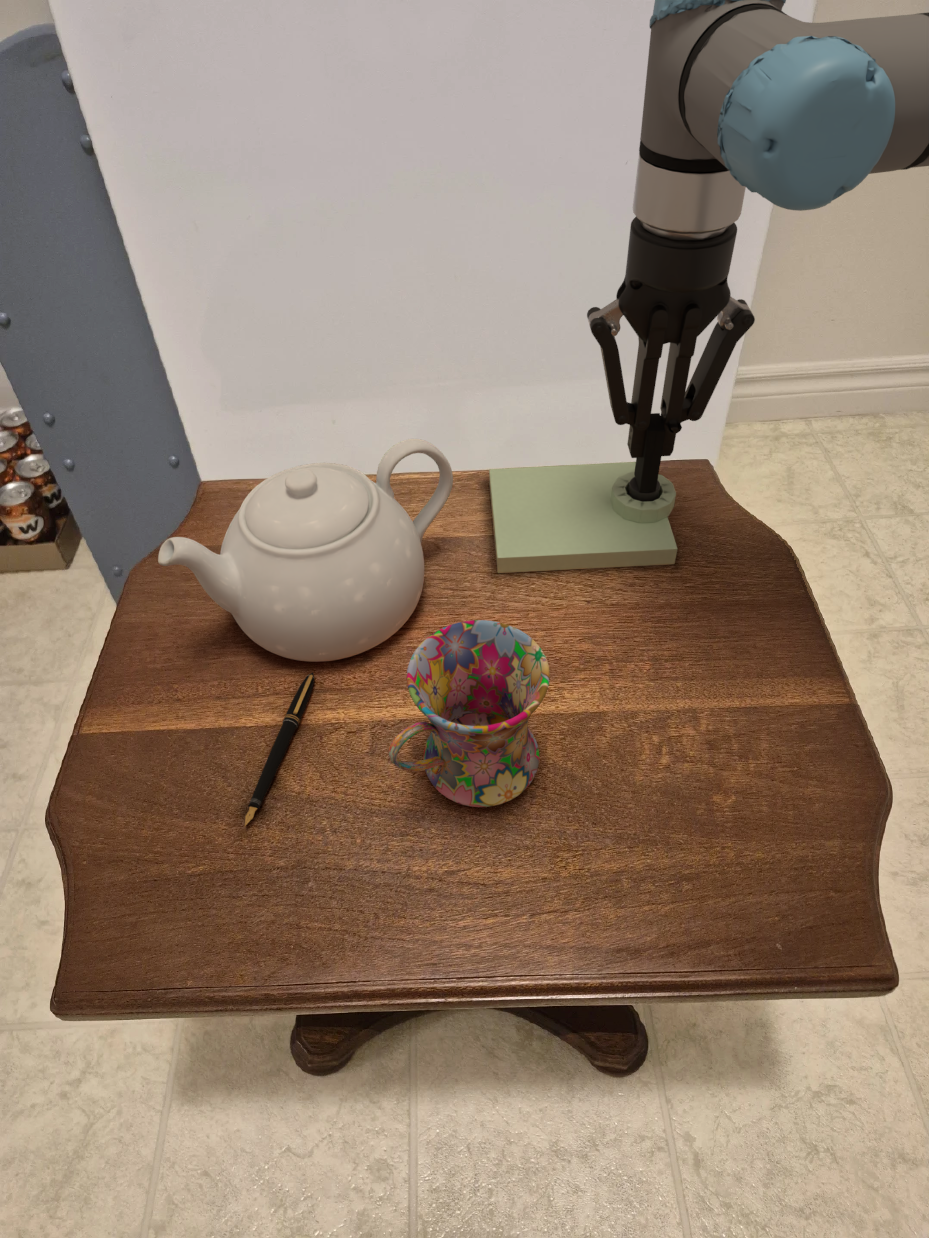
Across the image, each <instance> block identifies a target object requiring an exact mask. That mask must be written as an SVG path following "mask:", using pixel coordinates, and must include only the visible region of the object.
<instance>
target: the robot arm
mask: <svg viewBox="0 0 929 1238" xmlns="http://www.w3.org/2000/svg"><path fill="white" fill-rule="evenodd" d="M786 1H787V0H654V3H653V4H654V5H653V10H652V15H651V16H650V19H649V29H650V36H649V48H648V56H647V67H646V77H645V86H644V97H643V98H644V99H643V107H642V117H641V128H640V138H639V148H638V160H637V168H636V176H635V184H634V192H633V203H632V212H633V214H634V218H633V219H632V220H631V222H630V229H629V236H628V247H627V257H626V266H625V274H624V279H623V281H622V283H621V284H620V286H619V287H618V289H617V290H616V297H615V300H613V301H612V302H610V303H608V304H607V305H605V306H603V307H602V308H600V307H597V306H593V307H591V308H589V309H588V310H587V312H586V318H587V321H588V325H589V328H590V329H589V330H590V331H591V334H592V336H593V337H594V339H595V340H596V342H597V343H598V345H599V348H600V353H601V359H602V364H603V365H602V366H603V370H604V376H605V381H606V386H607V388H606V389H607V392H608V399H609V403H610V408H611V411H612V416H613V419H614V422H615V424H617V426H624V425H629V427H628V428H629V429H628V436H627V443H626V444H627V448H628V451H629V455H630V458H631V459H635V462H636V465H635V472H634V475H635V479H636V482H637V486H638V489H639V492H655V491H656V487H657V481H658V474H659V475H660V468H661V462H662V461H661V460H662V457H671V455H672V454H673V452H674V448H675V443H676V436H677V434H678V433H679V432H681V431H682V428H683V427H682V423H684V422H686V421H688V420H689V421H692V422H697V421H699V420H700V419H701V418H702V417H703V415H704V413H705V411H706V409H707V406H708V404H709V402H710V400H711V398H712V396H713V395H714V392H715V390H716V388H717V386H718V383H719V381H720V379H721V378H722V375H723V373H724V371H725V368H726V367H727V364H728V362H729V360H730V358H731V356H732V354H733V352H734V350H735V348H736V346H737V344H738V342H739V341H740V340H741V338H742V337H743V336H744V335H745V334H746V333H747V332H748V331H749V329H751V328H752V327H753V325H754V324H755V321H756V318H755V316H754V313H753V312H752V310H751V309H750V306H749V304H748V303H747V301H746V300H745V299H740V298H739V299H736V298H734V297H732V296H731V289H730V287H729V284H728V283H729V282H728V277H729V274H730V269H731V265H732V264H731V263H732V260H733V255H734V254H733V253H734V249H735V243H736V239H737V234H738V226H737V224H736V223H735V222H737V221H738V220H739V218H740V217H741V215H742V210H743V206H744V205H743V204H744V199H745V193H746V189H747V190H748V191H750V193H757V194H758V195H760V196H761V197H762V198H764V199H766V200H767V201H769V202H770V203H771V204H773V205H775V206H776V207H779V208H782V209H785V210H790V211H799V212H800V211H801V212H803V211H811V210H817V209H820V208H823V207H826V206H827V205H829V204H831V203H832V202H833V201H834V200H836V199H838V198H839V197H841V196H843V195H844V194H846V193H848V192H850V191H852V190H854V189H855V188H856V187H858V186H859V185H860V184H862V183H863V181H864V180H866V178H867V177H868V176H869V175H872V174H881V173H890V172H895V171H896V172H897V171H903V170H905V171H906V170H909V169H911V168H912V169H913V168H914V169H915V168H923V167H929V12H920V13H911V14H899V15H890V16H889V15H887V16H879V17H878V16H877V17H867V18H855V19H845V20H834V21H826V22H825V21H823V22H807V21H802V20H799V19H798V18H795V17H792V16H790V15H788V14H787V13H785V12H784V11H783V8H784V6H785V4H786ZM623 316H624V318H625V319H626V321H627V322H628V324H629V325H630V327H631V329H632V330H633V331H634V333H635V334H636V336H637V337H638V338H637V339H638V347H637V348H638V349H637V355H636V363H635V369H634V370H635V372H634V377H633V378H634V379H633V385H632V393H631V402H628V401H627V395H626V389H625V382H624V377H623V370H622V365H621V357H620V351H619V347H618V343H617V340H616V336H617V335H618V334H619V333H620V330H621V319H622V317H623ZM715 319H716V320H717V322H716V324H715V325H714V327H713V329H712V331H711V334H710V336H709V337H708V340H707V343H706V344H705V347H704V349H703V351H702V354H701V356H700V358H699V360H698V363H697V364H696V367H695V369H694V372H693V373H692V376H691V377H690V378H691V379H690V380H689V372H690V368H691V362H692V358H693V357H694V356H695V351H696V345H697V338H698V337H699V336H700V335H701V334H702V333H703V332H704V331H705V330H706V329H707V328H708V326H710V324H711V323H712V322H713V321H714V320H715ZM665 344H666V345H667V344H669V348H668V355H667V362H666V367H665V373H664V381H663V387H662V395H661V401H660V407H659V408H660V409H659V410H660V412H656V413H655V412H654V413H653V412H652V411H653V404H654V395H655V390H656V385H657V384H656V382H657V376H658V370H659V363H660V359H661V358H662V356H663V355H662V354H663V349H664V345H665ZM688 380H689V383H688Z"/></svg>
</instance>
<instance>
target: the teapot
mask: <svg viewBox="0 0 929 1238" xmlns="http://www.w3.org/2000/svg"><path fill="white" fill-rule="evenodd" d="M414 454H423V455H426V456H428V457H429V458H431V459H432V461H434V463H435V464H436V466H437V468H438V471H439V475H438V476H439V479H438V482H437V483H438V484H437V485H436V488H435V490H434V492H433V494H432V495H431V497H430V498H429V499H428V501H427V503H425V504H424V506H423V507H422V508H421V510H420V511H419V512H418V514H417V515H416V516H415V518H414V519H413V520H412V518H411V517H410V515H409V513H408V512H407V511H406V509H405V508H404V507H403V506H402V505H401V503H400V502H399V501H398V500H397V499H396V498H395V493H394V489H393V488H392V486H391V477H392V473H393V471H394V469H395V468H396V466H397V465H398V464H399V463H400V462H401V461H402V460H404V459H405V458H407V457H408V456H411V455H414ZM375 481H376V482H375ZM375 481H373V480H372V479H370V478H369V477H368V476H367V475H366V474H365V473H364V472H362V471H361V470H358V469H357V468H355V467H353V466H349V465H347V464H341V463H336V462H314V463H306V464H301V465H296V466H293V467H290V468H287V469H284V470H282V471H279V472H276V473H275V474H274V473H273V474H272V475H271V476H269V477H267V478H265V479H264V480H262V481H261V482H259V483H258V484H257V485H256V486H255V487H253V489H252V490H251V491H249V493H248V494H247V495H246V496H245V498H244V499H243V501H242V503H241V505H240V507H239V509H238V511H237V512H236V513H235V514H234V516H233V518H232V520H231V521H230V523H229V526H228V527H227V530H226V533H225V535H224V537H223V540H222V543H221V546H220V554H218V553H216V552H213V551H212V550H210V549H209V548H207V547H206V546H205V545H203V544H202V543H200V542H198V541H196V540H194V539H192V538H188V537H184V536H173V537H169V538H167V539H165V541H164V542H163V543H161V545H160V547H159V551H158V555H157V563H158V564H159V565H160V566H163V567H170V566H176V565H177V566H178V565H180V566H184V567H186V568H187V569H189V570H190V571H191V573H192V574H194V576H195V578H196V580H197V582H198V583H199V585H200V586H201V588H202V589H203V590H204V591H205V593H206V594H207V595H208V597H209V598H210V599H211V600H212V601H213V602H214V603H216V604H217V605H218V606H219V607H220V608H222V609H223V610H225V611H226V612H228V613H230V614H231V615H232V617H233V619H234V620H235V622H236V624H237V625H238V626H239V628H240V629H241V630H242V631H243V633H244V634H245V635H246V636H247V637H248V638H249V639H250V640H251V641H253V642H254V643H255V644H257V645H258V646H259V647H261V648H263V649H264V650H266V651H268V652H270V653H272V654H274V655H277V656H280V657H283V658H286V659H290V660H295V661H302V662H310V663H311V662H315V663H319V662H331V661H338V660H342V659H347V658H350V657H353V656H356V655H360V654H362V653H364V652H366V651H369V650H371V649H374V648H376V647H377V646H379V645H381V644H382V643H384V642H385V641H387V640H388V639H389V638H391V637H392V636H393V635H394V634H396V633H397V632H398V631H399V630H400V629H401V628H402V627H404V624H406V622H407V621H408V620H409V619H410V617H411V616H412V614H413V613H414V612H415V610H416V607H417V606H418V603H419V601H420V598H421V596H422V592H423V588H424V582H425V559H424V551H423V546H422V543H423V538H424V535H425V533H426V532H427V530H428V528H429V527H430V525H431V524H432V522H433V521H434V520H435V518H436V517H438V514H440V512H441V511H442V509H443V508H444V506H445V504H446V503H447V501H448V499H449V497H450V495H451V492H452V489H453V485H454V475H453V470H452V467H451V464H450V462H449V460H448V459H447V457H446V456H445V455H444V453H443V452H442V451H441V450H440V449H439V448H438V447H437V446H436V445H434V444H433V443H431V442H429V441H427V440H424V439H419V438H408V439H404V440H402V441H401V440H400V441H399V442H397V443H395V444H394V445H392V446H391V447H390V448H389V449H388V450H387V451H386V452H385V453H384V454H383V456H382V457H381V459H380V461H379V463H378V465H377V469H376V478H375Z"/></svg>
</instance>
